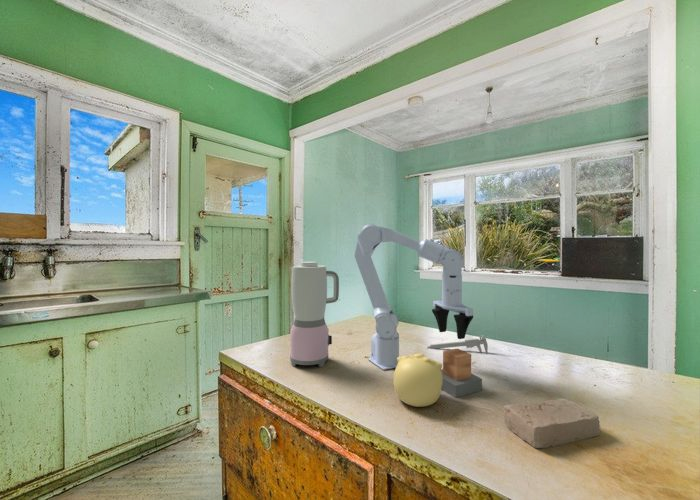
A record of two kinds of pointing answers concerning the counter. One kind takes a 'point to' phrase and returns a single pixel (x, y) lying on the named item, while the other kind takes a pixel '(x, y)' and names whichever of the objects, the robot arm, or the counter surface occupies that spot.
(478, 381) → the base
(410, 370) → the sculpture
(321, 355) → the blender
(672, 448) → the counter surface
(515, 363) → the counter surface
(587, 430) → the brick
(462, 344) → the caliper
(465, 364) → the block
